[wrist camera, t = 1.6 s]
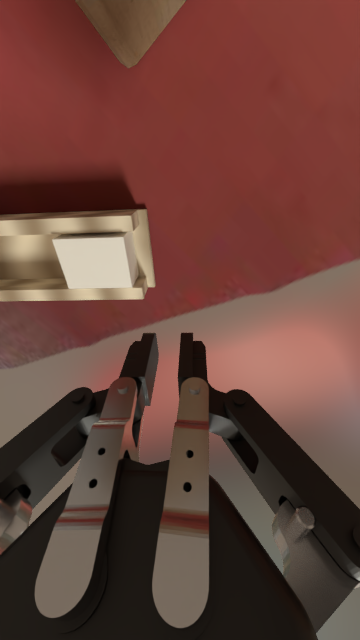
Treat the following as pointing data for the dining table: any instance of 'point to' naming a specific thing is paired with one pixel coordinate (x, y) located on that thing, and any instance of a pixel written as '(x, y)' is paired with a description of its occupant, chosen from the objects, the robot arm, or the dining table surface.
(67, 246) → the off-white block
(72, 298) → the birch chute
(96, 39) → the dining table surface
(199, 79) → the dining table surface
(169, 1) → the wooden block
